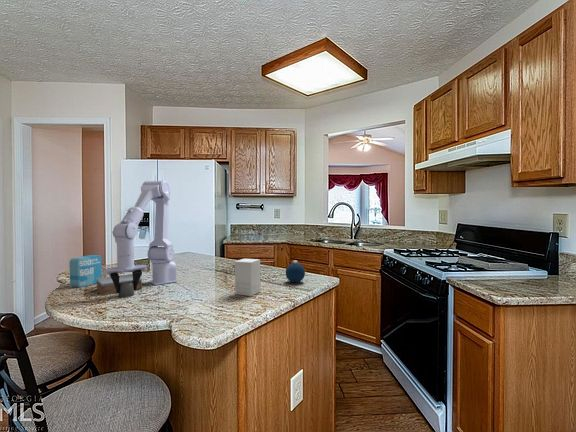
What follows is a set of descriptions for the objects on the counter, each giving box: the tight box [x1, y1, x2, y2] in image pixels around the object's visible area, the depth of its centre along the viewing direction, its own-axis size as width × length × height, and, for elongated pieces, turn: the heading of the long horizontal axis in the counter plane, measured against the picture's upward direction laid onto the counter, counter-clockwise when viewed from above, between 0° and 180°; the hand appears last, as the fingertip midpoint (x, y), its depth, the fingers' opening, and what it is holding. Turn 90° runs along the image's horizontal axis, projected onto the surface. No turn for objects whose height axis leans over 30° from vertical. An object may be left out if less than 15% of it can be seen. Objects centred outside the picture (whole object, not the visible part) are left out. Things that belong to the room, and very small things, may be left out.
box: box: [96, 281, 143, 296], centre depth 135 cm, size 14×12×3 cm
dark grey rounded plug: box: [118, 281, 135, 298], centre depth 126 cm, size 5×5×5 cm
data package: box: [69, 254, 103, 288], centre depth 144 cm, size 12×4×12 cm, turn 163°
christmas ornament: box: [285, 260, 306, 284], centre depth 145 cm, size 8×8×10 cm
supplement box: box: [234, 258, 262, 297], centre depth 128 cm, size 7×7×13 cm
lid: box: [97, 273, 142, 286], centre depth 135 cm, size 14×12×1 cm
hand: (126, 291), depth 126 cm, fingers closed on dark grey rounded plug, 5 cm apart
